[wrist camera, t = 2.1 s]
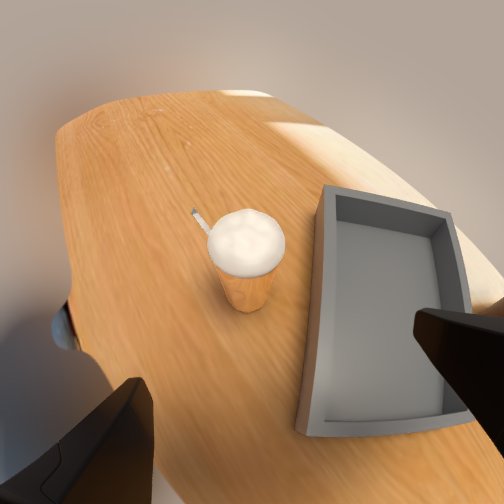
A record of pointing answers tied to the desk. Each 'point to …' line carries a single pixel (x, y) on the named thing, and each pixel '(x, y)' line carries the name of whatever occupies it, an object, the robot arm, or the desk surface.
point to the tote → (378, 317)
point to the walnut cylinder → (495, 309)
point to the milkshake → (245, 255)
